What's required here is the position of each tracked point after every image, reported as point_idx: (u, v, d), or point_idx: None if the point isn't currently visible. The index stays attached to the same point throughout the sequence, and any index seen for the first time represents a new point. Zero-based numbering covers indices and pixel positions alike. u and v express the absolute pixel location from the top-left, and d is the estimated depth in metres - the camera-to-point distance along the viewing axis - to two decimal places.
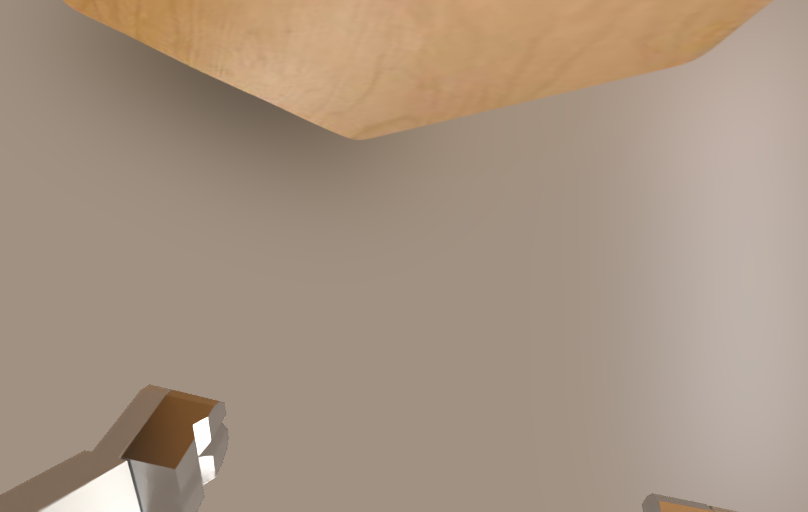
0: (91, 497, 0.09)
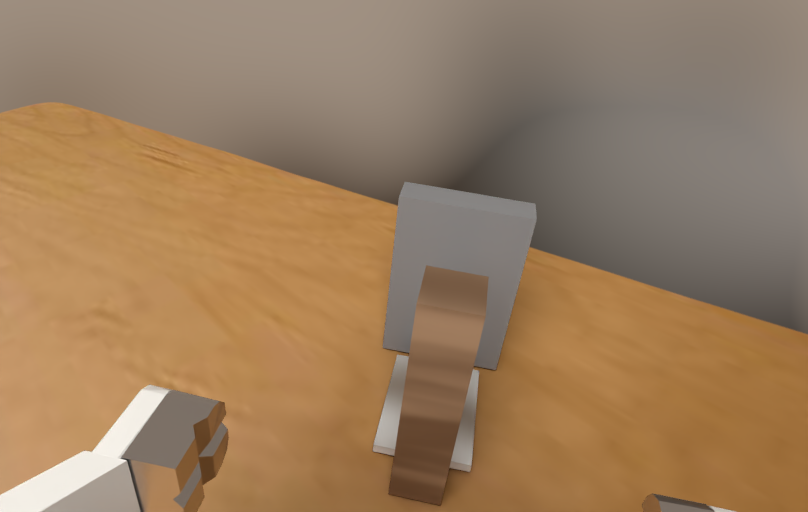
0: (91, 497, 0.09)
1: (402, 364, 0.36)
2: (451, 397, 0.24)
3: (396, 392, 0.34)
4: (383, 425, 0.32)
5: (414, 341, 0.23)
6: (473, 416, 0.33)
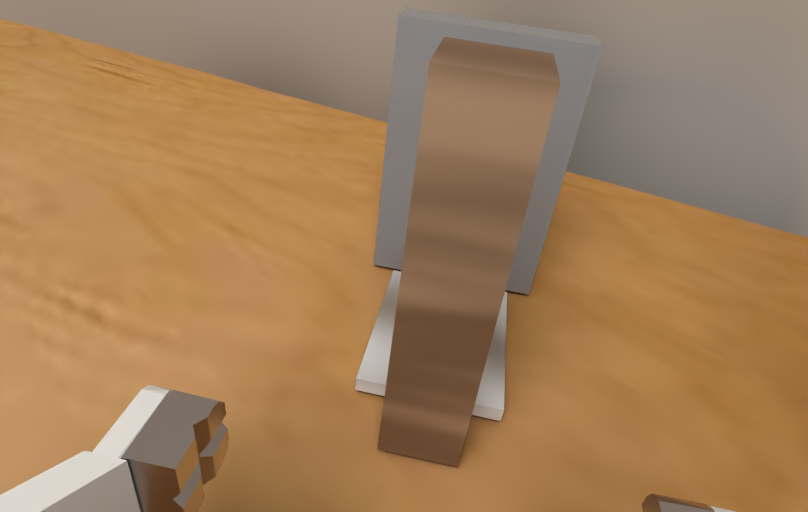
0: (91, 497, 0.09)
1: None
2: (485, 266, 0.14)
3: (391, 314, 0.24)
4: (371, 354, 0.22)
5: (424, 150, 0.13)
6: (502, 346, 0.23)
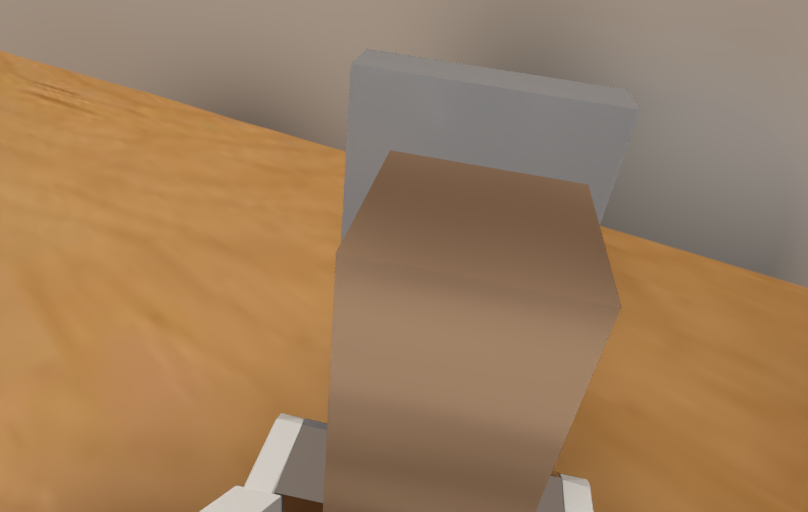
0: None
1: None
2: None
3: None
4: None
5: (342, 396, 0.07)
6: None
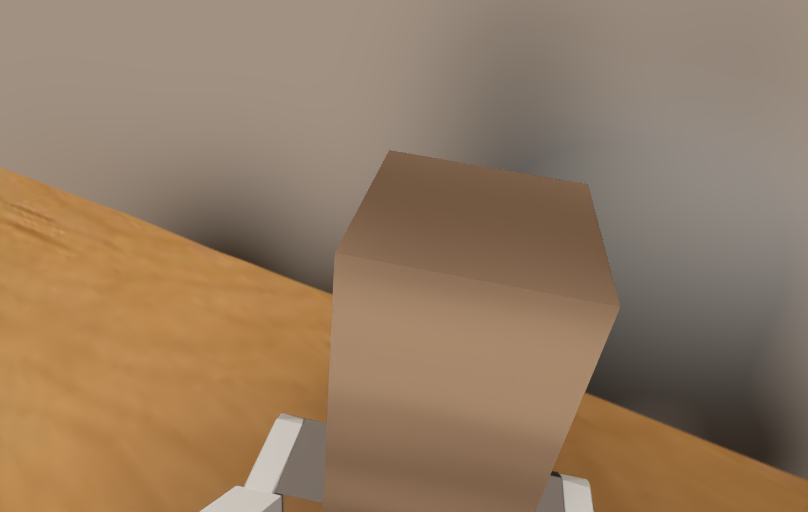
0: None
1: None
2: None
3: None
4: None
5: (341, 397, 0.07)
6: None
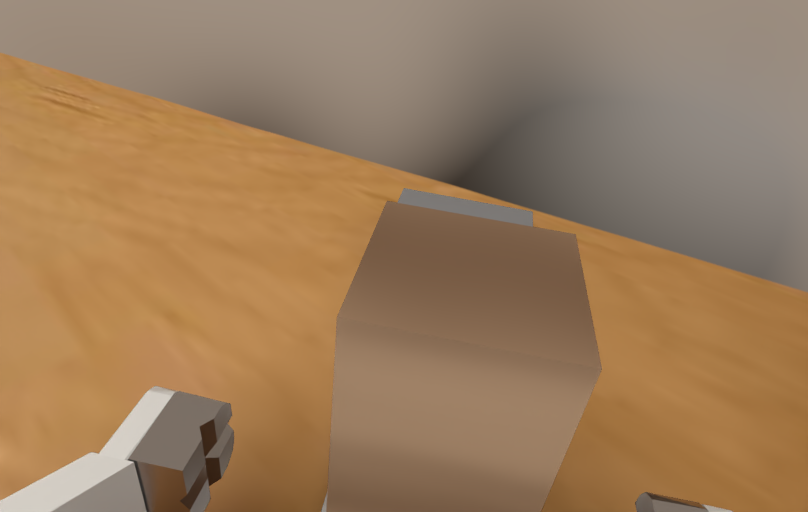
0: (98, 499, 0.09)
1: None
2: None
3: None
4: None
5: (341, 443, 0.07)
6: None
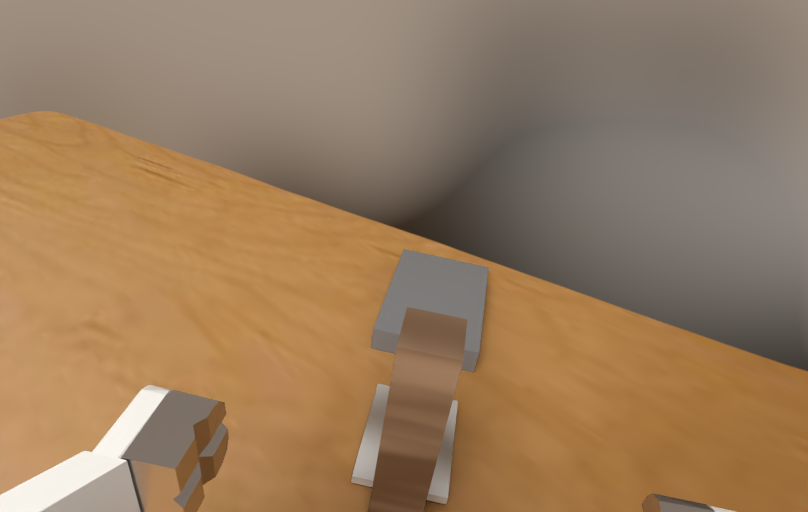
0: (91, 497, 0.09)
1: (382, 393, 0.37)
2: (428, 435, 0.25)
3: (376, 422, 0.35)
4: (361, 456, 0.33)
5: (394, 382, 0.24)
6: (451, 447, 0.34)
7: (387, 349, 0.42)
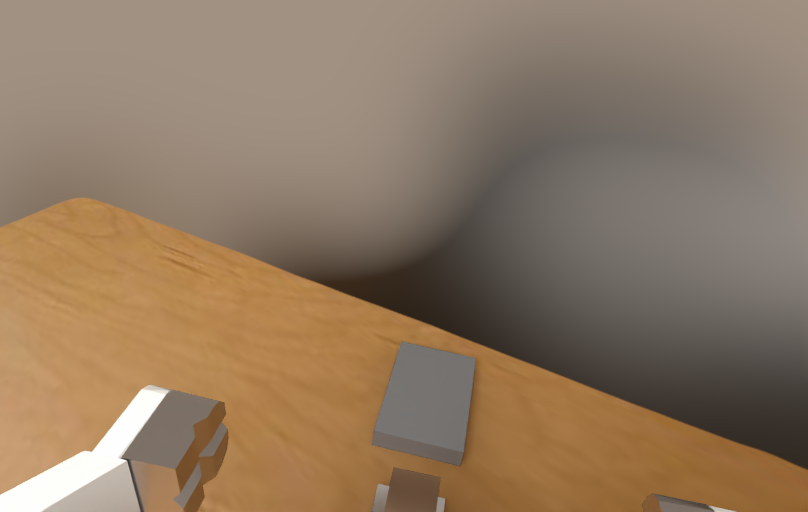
0: (91, 497, 0.09)
1: (382, 494, 0.44)
2: None
3: None
4: None
5: None
6: None
7: (386, 446, 0.49)
